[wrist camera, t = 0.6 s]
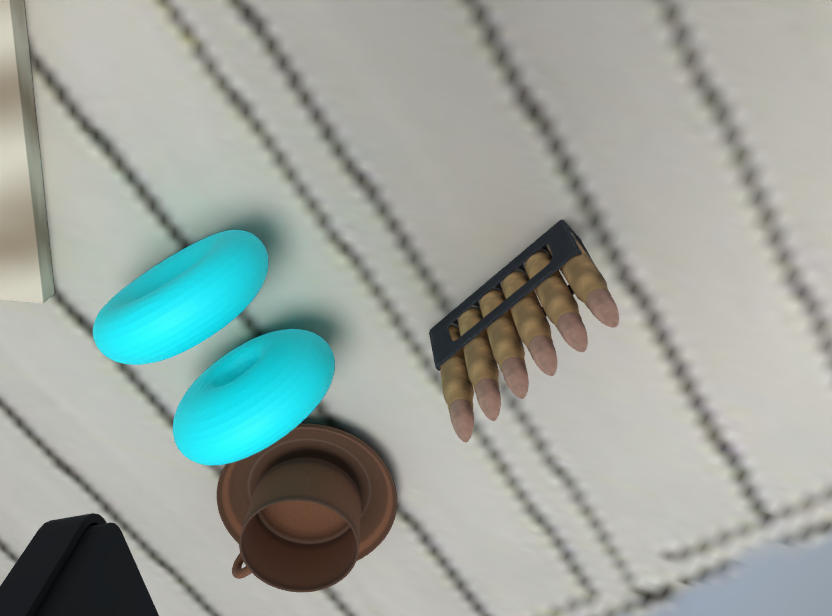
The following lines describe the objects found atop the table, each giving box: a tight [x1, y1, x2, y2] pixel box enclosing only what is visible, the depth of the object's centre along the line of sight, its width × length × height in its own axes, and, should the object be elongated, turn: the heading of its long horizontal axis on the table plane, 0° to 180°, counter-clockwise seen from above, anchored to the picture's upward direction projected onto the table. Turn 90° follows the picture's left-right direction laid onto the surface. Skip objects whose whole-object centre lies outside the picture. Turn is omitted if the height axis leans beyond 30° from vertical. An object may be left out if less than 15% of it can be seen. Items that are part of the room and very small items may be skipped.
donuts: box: [93, 230, 335, 465], centre depth 39 cm, size 10×10×10 cm
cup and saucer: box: [217, 424, 397, 592], centre depth 47 cm, size 12×12×6 cm
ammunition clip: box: [429, 220, 619, 442], centre depth 38 cm, size 11×2×12 cm, turn 133°
